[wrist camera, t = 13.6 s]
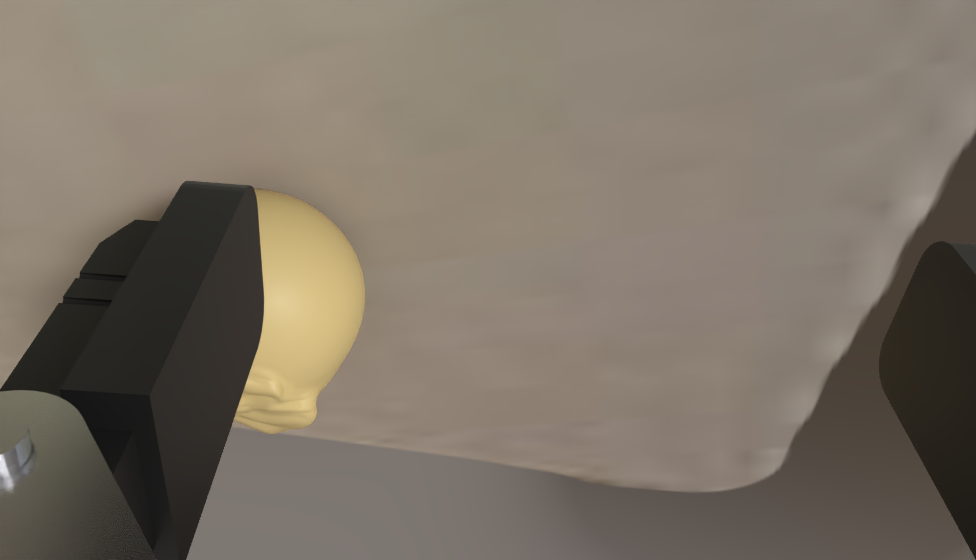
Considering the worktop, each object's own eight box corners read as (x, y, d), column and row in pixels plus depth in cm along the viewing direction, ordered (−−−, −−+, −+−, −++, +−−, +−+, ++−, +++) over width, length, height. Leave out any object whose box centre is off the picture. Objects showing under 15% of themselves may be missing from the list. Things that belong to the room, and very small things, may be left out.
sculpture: (134, 273, 51) (60, 400, 42) (229, 124, 46) (166, 234, 37) (304, 363, 55) (268, 496, 46) (410, 236, 50) (392, 359, 41)
